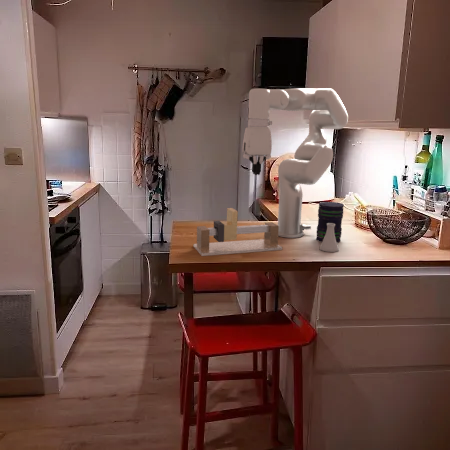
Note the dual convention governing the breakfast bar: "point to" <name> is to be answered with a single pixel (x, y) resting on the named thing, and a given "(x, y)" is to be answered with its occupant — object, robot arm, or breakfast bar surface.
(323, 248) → the flask
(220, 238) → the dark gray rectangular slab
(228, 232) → the wooden block
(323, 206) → the storage jar
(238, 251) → the pipe rig
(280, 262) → the breakfast bar surface
